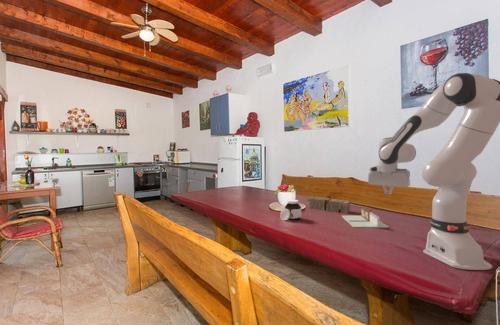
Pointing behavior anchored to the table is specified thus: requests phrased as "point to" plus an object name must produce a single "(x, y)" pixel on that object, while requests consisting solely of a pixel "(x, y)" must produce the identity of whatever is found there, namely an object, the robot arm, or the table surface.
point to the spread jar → (291, 210)
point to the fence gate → (374, 219)
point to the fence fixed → (366, 213)
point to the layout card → (362, 222)
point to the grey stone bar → (329, 204)
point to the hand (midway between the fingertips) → (388, 194)
